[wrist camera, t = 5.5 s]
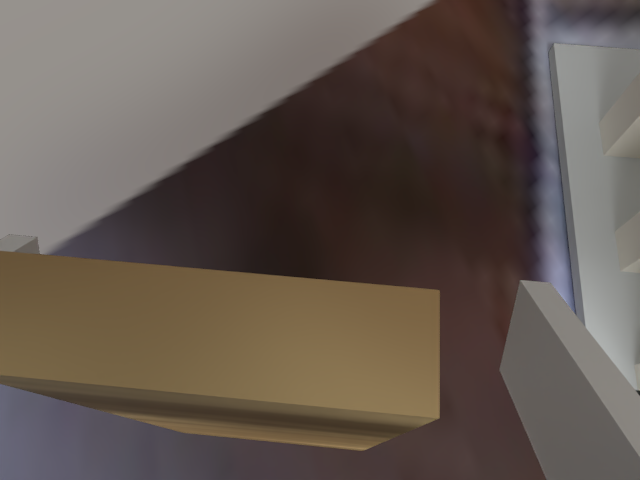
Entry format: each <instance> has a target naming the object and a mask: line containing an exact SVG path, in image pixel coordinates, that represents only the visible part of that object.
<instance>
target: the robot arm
mask: <svg viewBox="0 0 640 480" xmlns="http://www.w3.org/2000/svg"><path fill="white" fill-rule="evenodd" d="M0 251H9V252H20V253H31V254H40V253H39V246H38V240H37V237H32V236H31V237H30V236H20V235H7V236H6V237H4V238H2V239H0ZM500 372H501V375H502V377H503V379H504V382H505V384H506V386H507V389H508V391H509V393H510V396H511V398H512V400H513V403H514V405H515V407H516V410H517V412H518V414H519V417H520V419H521V421H522V423H523V426H524V428H525V430H526V433H527V435H528V437H529V440H530V442H531V444H532V447H533V449H534V451H535V454H536V456H537V458H538V461H539V463H540V465H541V468H542V470H543V472H544V475H545V477H546V479H547V480H640V391H639V390H635V389H634V388H633V387H632V385H631V384H630V383H629V382H628V380H627V379H626V378H625V377H624V375H623V374H622V373H621V372H620V370H619V369H618V368H617V366H616V365H615V364H614V363H613V361H612V360H611V359H610V358H609V356H608V355H607V354H606V353H605V351H604V350H603V349H602V348H601V346H600V345H599V344H598V342H597V341H596V340H595V339H594V337H593V336H592V335H591V334H590V332H589V331H588V330H587V329H586V327H585V326H584V325H583V323H582V322H581V321H580V320H579V318H578V317H577V316H576V315H575V313H574V312H573V311H572V310H571V308H570V307H569V306H568V304H567V303H566V302H565V301H564V299H563V298H562V297H561V296H560V294H559V293H558V292H557V291H556V289H555V288H554V287H553V286H552V284H551V283H547V282H536V281H525V280H520V283H519V288H518V292H517V296H516V301H515V305H514V309H513V314H512V318H511V322H510V327H509V331H508V335H507V340H506V344H505V348H504V353H503V357H502V361H501V366H500Z"/></svg>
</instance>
